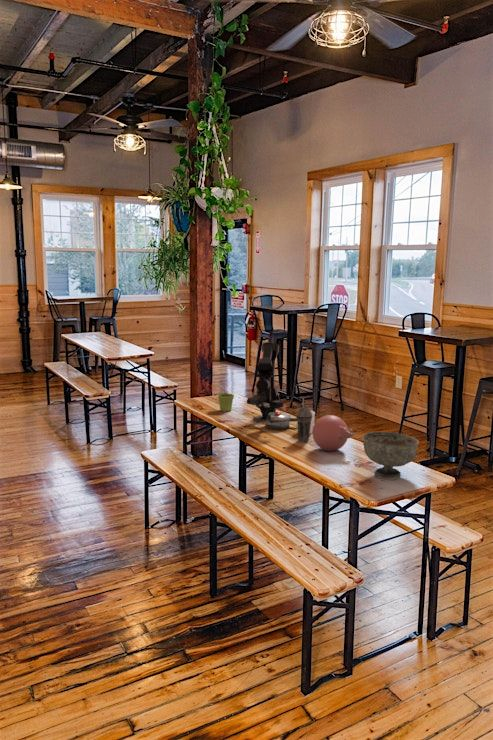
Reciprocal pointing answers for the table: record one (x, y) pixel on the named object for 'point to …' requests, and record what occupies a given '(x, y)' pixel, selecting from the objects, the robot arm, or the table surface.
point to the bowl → (389, 452)
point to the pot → (279, 424)
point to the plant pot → (225, 402)
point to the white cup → (312, 422)
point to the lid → (273, 417)
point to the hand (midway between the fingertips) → (264, 420)
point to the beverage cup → (304, 423)
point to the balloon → (330, 433)
